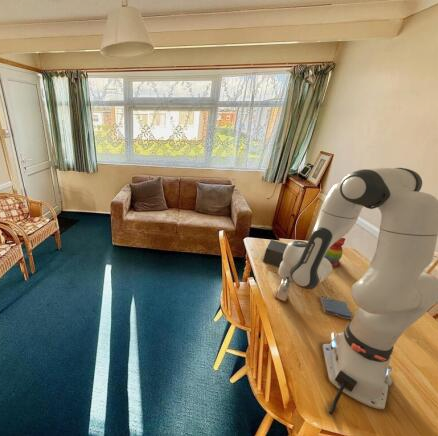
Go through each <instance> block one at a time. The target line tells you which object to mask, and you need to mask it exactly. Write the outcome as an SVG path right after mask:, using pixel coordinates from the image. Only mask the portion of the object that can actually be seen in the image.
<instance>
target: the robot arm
mask: <svg viewBox="0 0 438 436" xmlns="http://www.w3.org/2000/svg"><path fill="white" fill-rule="evenodd" d="M422 188H423V180H422V177H421V175H420V174H419V173H418V172H417V171H415V170H412V169H409V168H403V167H373V168H364V169H358V170H355V171H353V172H351V173H348V174H347V175H345V176H344V177H343V178H342V179H341V181H340V182H337V183H335V184H334V185H332V187H331V188H330V190H329V191H328V192H327V195H326V196H325V198H324V200H323V202H322V204H321V208H320V209H319V213H318V215H317V219H316V221H315V225H314V227H313V229H312V232H311V235H310V237H309V239H308V240H307V242H306V241H303V240H292V241H290V242H288V243H287V244H288V245H287V247H286V249H285V251H284V254H283V261H282V262H281V264H280V267H278V270H277V271H278V272H277V274H278V275H279V276H280V279H281V282H280V284H279V286H280V288H279V287H278V288H279V291H278V290H277V291H278V294H277V293H276V294H277V298H279V299H281V300H286V298H287V299H288V297H287V295H288V296H289V294H288V292H289V293H290V289H291V285H292V283H293V284H295V285H296V286H297V287H299V288H301V289H304V290H307V291H308V290H309V291H310V290H314V289H316V287H317V286H319V285H320V284H321V283H322V282H323V281H325V280H326V279H327V278H328V277H330V276H331V275H332V274H333V272H334V267H333V266H332V264H331V262H330V261H329V260H328V259H326V258H325V257H324V256H325V254H326V252H327V250H328V249H329V248H330V247H331V246H332V245H333V244H334V243H335V242H336V241H338V240H339V239H340V238H344V236H346V235H347V234H349V232H350V231H351V230H352V229H353V227H354V226H355V224H356V223H357V221H358V219H359V217H360V214H361V212H362V209H363V208H366V209H369V210H374V209H378V210H379V211H380V214H381V219H380V225H379V231H378V232H379V233H378V238H377V242H376V248H375V251H374V254H373V257H372V259H371V261H370V263H369V265H368V266H367V268H366V270H365V272H364V273H363V274H362V276H361V277H360V278H359V279H358V280H357V281H356V282H354V284H352V285H351V289H350V295H351V298H352V300H353V302H354V304H356V306H358V309H357V310H356V312H355V314H354V316H352V319H351V321H350V322H348V323H347V324H346V325H345V327H344V330H343V331H342V332H338V333H336V334H335V335H334V332H332V333H331V341H330V343H323V344H322V351H323V352H322V353H323V357H324V362H325V367H326V371H327V376H328V380H329V383H331V384H332V385H333V386H334V387H336V388H337V389H338V391H337V393H336V395H335V397H334V399H333V402H332V404H331V405H330V408H329V411H328V414H329V415H333V413H334V411H335V408H336V406H337V404H338V402H339V401H340V398H341V396H342V394H343V393H344V394H345V395H346V396H348V397H350V398H352V399H354V400H355V401H357V402H359V403H361V404H363V405H366V406H368V407H370V408H373V409H377V410H385V407H386V404H387V398H388V392H389V386H390V387H391V385H393V381H394V380H393V378H391V375H390V373H389V372H392V370H393V366H390V362H391V359H392V354H393V351H394V347H395V344H396V343H397V342H398V340H399V339H400V337H401V336H402V335H403V333H405V331H406V330H407V329H408V328H410V327H411V326H412V325H413V324H415V323H416V322H417V321H419V319H420V318H422V317H423V316H424V315H426V313H427V312H428V311H429V310H430V309H431V308H433V307H434V306H436V305H437V304H438V278H437V277H435V276H434V275H431V274H430V273H427V272H424V271H425V270H426V268H427V267H429V266H430V265H431V263H432V262H433V260H434V256H435V251H436V247H437V242H438V199H437V197H436V196H434V195H432V194H430V193H427V192H423V191H421V189H422ZM279 299H278V300H279ZM281 300H280V301H281ZM286 301H287V300H286Z"/></svg>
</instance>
